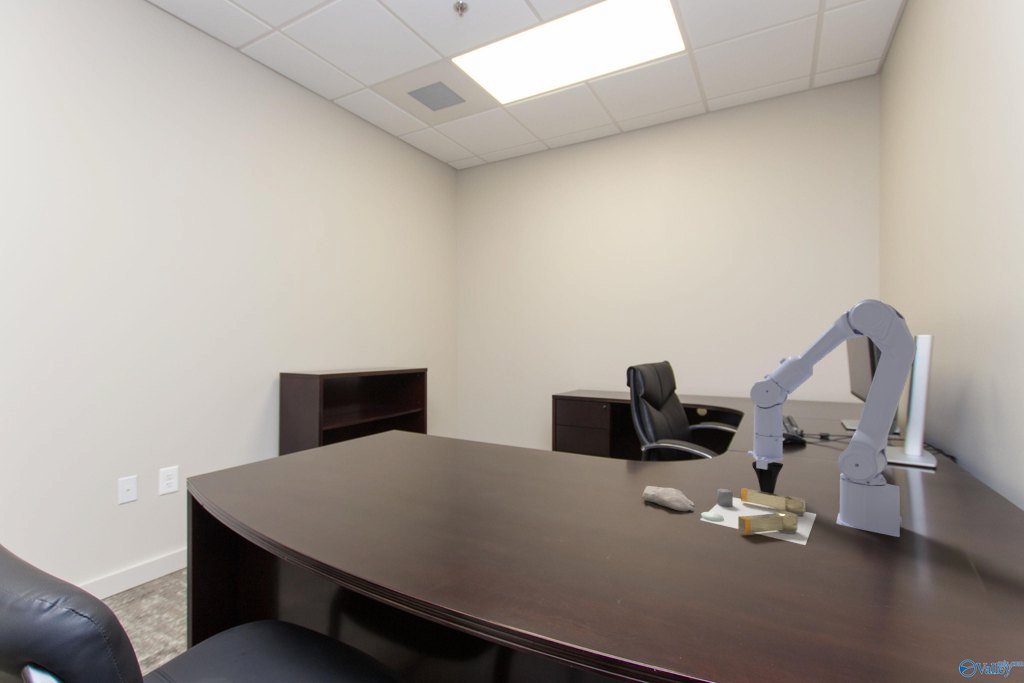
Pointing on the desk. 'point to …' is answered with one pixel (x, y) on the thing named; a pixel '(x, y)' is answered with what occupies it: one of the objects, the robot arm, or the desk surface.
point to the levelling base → (734, 507)
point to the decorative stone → (668, 498)
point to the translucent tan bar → (768, 522)
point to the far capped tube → (774, 500)
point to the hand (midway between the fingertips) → (767, 495)
